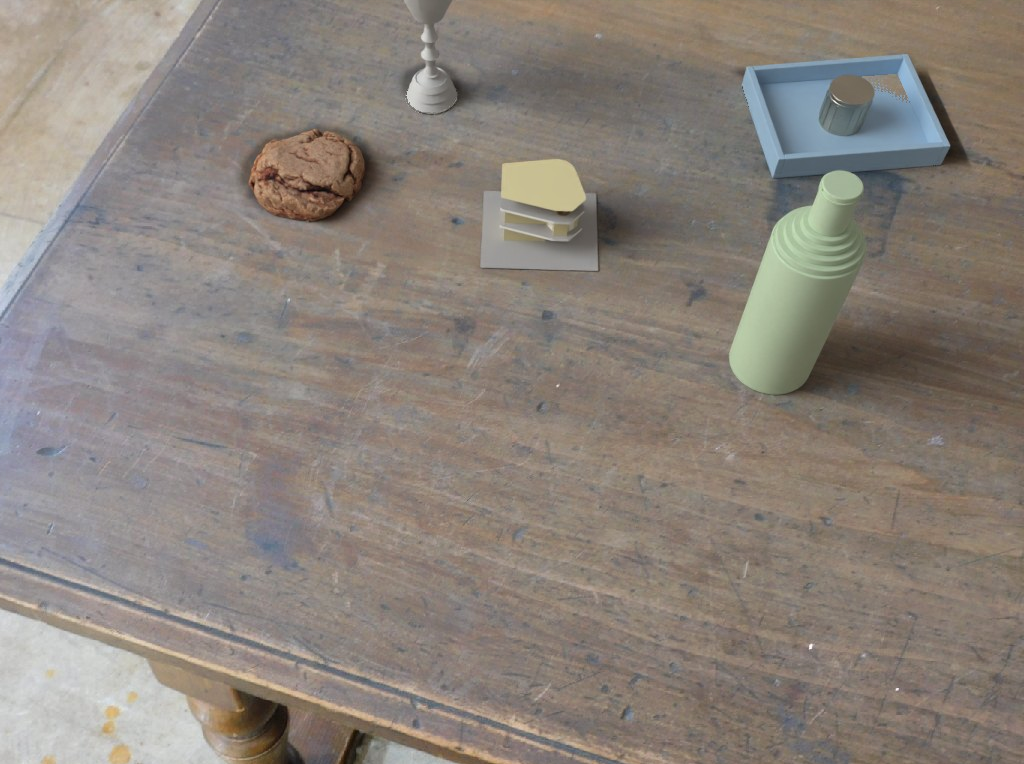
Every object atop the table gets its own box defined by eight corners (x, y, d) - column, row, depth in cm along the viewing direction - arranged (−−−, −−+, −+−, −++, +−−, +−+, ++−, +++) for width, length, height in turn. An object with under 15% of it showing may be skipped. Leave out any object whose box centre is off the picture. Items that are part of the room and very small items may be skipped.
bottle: (799, 326, 88) (877, 145, 71) (820, 391, 84) (907, 217, 68) (720, 333, 87) (781, 152, 71) (738, 398, 84) (806, 225, 67)
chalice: (468, 121, 101) (468, -54, 86) (395, 124, 101) (383, -51, 86) (466, 69, 105) (466, -108, 89) (396, 71, 105) (384, -105, 90)
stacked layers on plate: (480, 268, 92) (481, 223, 87) (483, 191, 96) (484, 144, 92) (598, 271, 91) (605, 226, 87) (596, 193, 96) (603, 147, 91)
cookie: (388, 176, 98) (386, 151, 95) (303, 242, 94) (299, 218, 91) (313, 125, 101) (309, 100, 99) (228, 187, 98) (222, 162, 95)
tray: (899, 73, 103) (908, 53, 101) (940, 165, 96) (950, 145, 94) (741, 86, 102) (746, 66, 100) (772, 178, 96) (778, 159, 94)
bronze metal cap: (818, 104, 100) (829, 72, 97) (862, 109, 100) (875, 77, 96) (817, 133, 98) (829, 101, 95) (862, 138, 98) (875, 107, 94)
